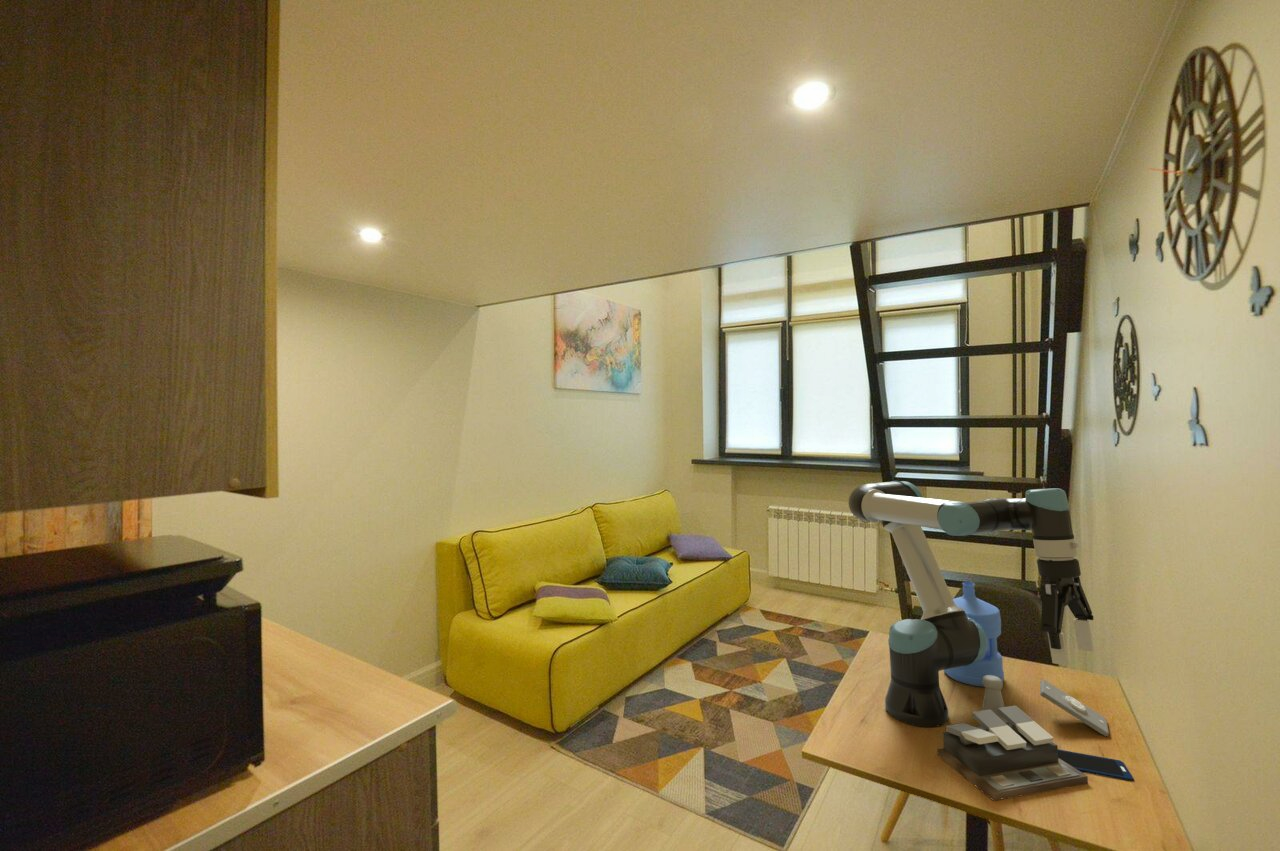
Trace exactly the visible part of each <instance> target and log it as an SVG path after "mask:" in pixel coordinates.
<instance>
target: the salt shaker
mask: <svg viewBox="0 0 1280 851" xmlns="http://www.w3.org/2000/svg"><path fill="white" fill-rule="evenodd" d="M982 682H983V685H984V686H985V688H984V689H985V690H984V696H983V702H982V707H981V711H982V710H989V709H990V710H992V711H993V712H994V713H995V714H996V715H997V716H998V717H999V718H1000V719H1001V720H1003V721H1004V722H1008V721H1007V720H1005V719H1004V718H1003V717H1002V716H1001V715H1000V714H999V713H998V708H1002V707H1006V706H1005V703H1004V699H1003V694H1002V691H1001V690H1003V687H1004V686H1003V685H1004V684H1003V683H1004V681H1003V682H1002V680H1001V679H1000V678H998V677H996V676H993V675H986V676H984V677H983V679H982Z"/></svg>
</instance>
